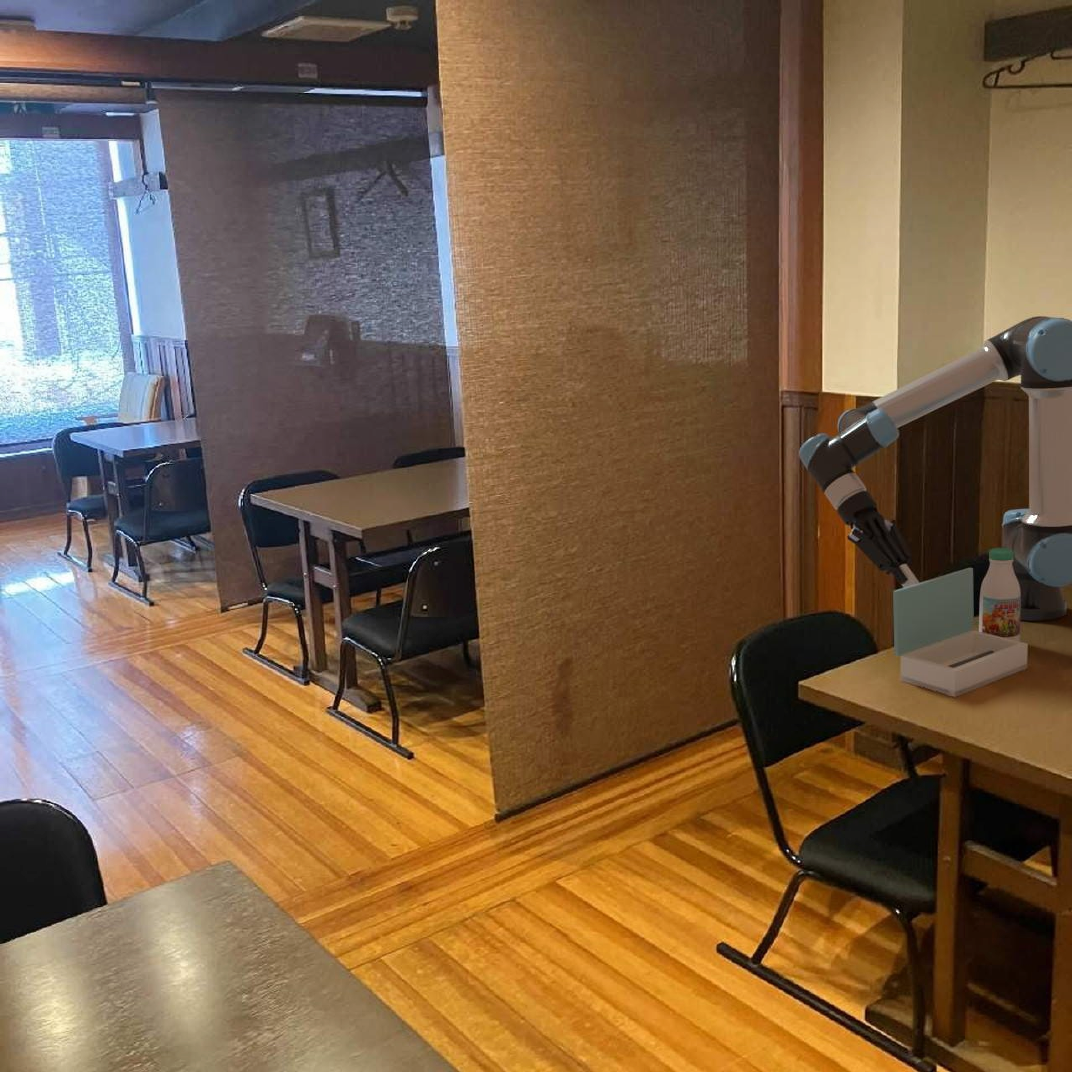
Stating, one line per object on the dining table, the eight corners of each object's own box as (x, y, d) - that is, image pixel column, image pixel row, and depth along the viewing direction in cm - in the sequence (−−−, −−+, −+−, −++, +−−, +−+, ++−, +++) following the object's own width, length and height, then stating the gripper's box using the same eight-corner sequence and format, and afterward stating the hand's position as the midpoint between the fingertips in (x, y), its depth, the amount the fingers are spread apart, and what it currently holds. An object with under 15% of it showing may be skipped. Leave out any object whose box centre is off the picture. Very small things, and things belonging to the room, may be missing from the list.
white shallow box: (972, 653, 230) (973, 630, 229) (1026, 668, 221) (1027, 643, 219) (900, 680, 219) (900, 655, 218) (954, 697, 209) (954, 671, 208)
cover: (973, 629, 230) (970, 628, 230) (973, 568, 227) (969, 567, 228) (898, 656, 217) (894, 655, 218) (896, 591, 215) (893, 591, 216)
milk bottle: (970, 643, 237) (972, 549, 232) (998, 636, 240) (1000, 543, 235) (999, 653, 230) (1002, 556, 225) (1027, 646, 233) (1031, 550, 228)
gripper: (863, 506, 241) (928, 598, 231) (819, 516, 234) (885, 612, 224) (883, 484, 235) (951, 577, 226) (839, 494, 229) (907, 591, 219)
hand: (918, 594), depth 225 cm, fingers closed
